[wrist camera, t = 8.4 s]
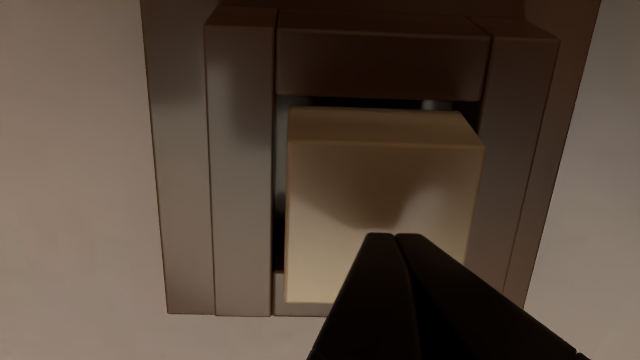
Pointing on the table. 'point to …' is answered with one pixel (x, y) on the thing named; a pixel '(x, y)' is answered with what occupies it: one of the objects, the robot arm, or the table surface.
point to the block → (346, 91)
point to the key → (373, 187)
